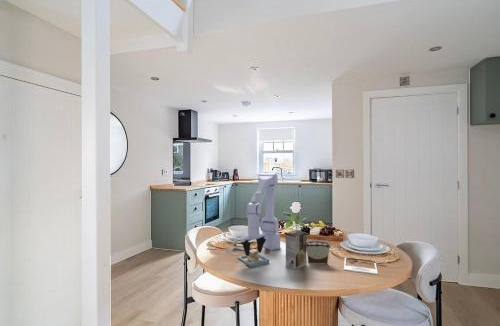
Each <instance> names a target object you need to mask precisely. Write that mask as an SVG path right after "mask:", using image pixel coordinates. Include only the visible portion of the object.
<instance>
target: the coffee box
mask: <svg viewBox="0 0 500 326" xmlns="http://www.w3.org/2000/svg"><path fill="white" fill-rule="evenodd" d="M307 242H308V241H307V232H305V231H302V230H293V231H290V232H286V233H285V267H287V268H289V269H292V270H295V271H296V270H298V269H301V268H303V267H305V266H306V265H307V263H308V256H307Z"/></svg>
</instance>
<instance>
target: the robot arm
mask: <svg viewBox="0 0 500 326" xmlns="http://www.w3.org/2000/svg"><path fill="white" fill-rule="evenodd" d="M257 179H258V187H257V190H256V191H255V192H254V193H253V195H252V198H251V200H250V201H249V203H247V204H246V206H245V213H246V218H247V234H246V235H245V236H242V237H240V243H241V245H243V247H244V250H245V254H244V255H246V256H249V250H250V246H252V245H251V244H252V243H251V242H249V241H253V240H256V244H257V245H256V246H257V249H256V250H257V251H259V254H261V253H262V250H263V248H264V249H268V250H270V251H274V250H280V249H282V247H281V236H280V233H279V230H280V224H279V223H280V222H279V219H278V218H277V217H276V216H275V214H274V213H275V189H276V188H277V187H278V183H279V182H278V175H277V173H276V172H273V173H265V172H264V173H262V172H260V173H259V174H258V177H257ZM264 199H265V216H264V217H262V218H261V220H260V215H261V213H262V204H263V202H264ZM260 221H261V222H260ZM260 231H261V232H262V233H260Z"/></svg>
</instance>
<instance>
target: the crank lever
mask: <svg viewBox="0 0 500 326" xmlns="http://www.w3.org/2000/svg"><path fill="white" fill-rule="evenodd" d="M232 247H242V248H244V247H243V245H242V244H239V243H238V237H232ZM251 248H253V247H252V245H250V249H251Z"/></svg>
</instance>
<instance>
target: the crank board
mask: <svg viewBox="0 0 500 326" xmlns="http://www.w3.org/2000/svg"><path fill="white" fill-rule="evenodd" d="M252 249H254V248H253V247H252V248H251V249H250V250H252ZM222 250H223V251H224V252H226V253H228V254H230V255H231V256H241V255H246V254H245V250H244V248H241V247H236V246H232V247H226V248H222Z"/></svg>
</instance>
